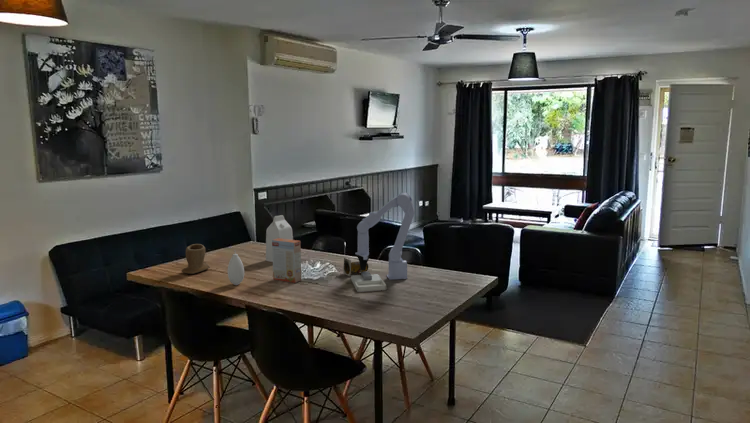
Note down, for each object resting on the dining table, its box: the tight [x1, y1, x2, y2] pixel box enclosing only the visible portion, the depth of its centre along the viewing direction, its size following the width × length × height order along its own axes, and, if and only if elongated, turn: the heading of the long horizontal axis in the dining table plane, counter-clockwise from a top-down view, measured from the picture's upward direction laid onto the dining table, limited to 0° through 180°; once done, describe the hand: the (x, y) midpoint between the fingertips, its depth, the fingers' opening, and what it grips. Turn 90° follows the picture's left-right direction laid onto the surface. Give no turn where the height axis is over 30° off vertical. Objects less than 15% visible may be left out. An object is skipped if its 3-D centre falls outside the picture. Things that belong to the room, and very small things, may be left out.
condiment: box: [343, 257, 369, 277], centre depth 287 cm, size 7×8×12 cm
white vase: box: [227, 250, 245, 286], centre depth 266 cm, size 8×8×18 cm
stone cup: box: [181, 243, 211, 275], centre depth 289 cm, size 15×12×15 cm
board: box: [350, 273, 383, 285], centre depth 271 cm, size 14×11×2 cm
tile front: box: [363, 273, 372, 280], centre depth 269 cm, size 4×4×2 cm
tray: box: [353, 279, 387, 293], centre depth 261 cm, size 14×10×2 cm
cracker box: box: [272, 238, 302, 284], centre depth 273 cm, size 14×6×21 cm, turn 61°
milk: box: [265, 214, 294, 263], centre depth 313 cm, size 12×12×26 cm
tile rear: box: [360, 270, 371, 278], centre depth 274 cm, size 4×4×2 cm
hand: (363, 269), depth 280 cm, fingers closed
